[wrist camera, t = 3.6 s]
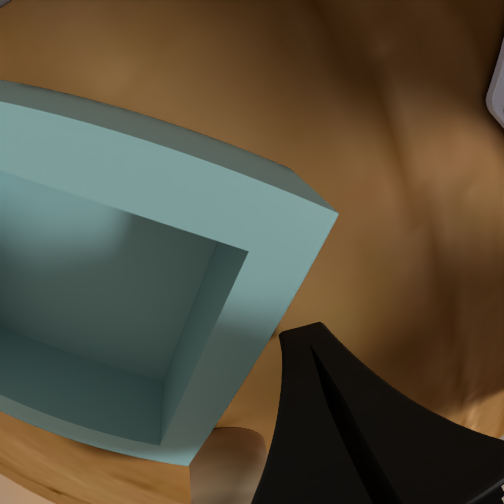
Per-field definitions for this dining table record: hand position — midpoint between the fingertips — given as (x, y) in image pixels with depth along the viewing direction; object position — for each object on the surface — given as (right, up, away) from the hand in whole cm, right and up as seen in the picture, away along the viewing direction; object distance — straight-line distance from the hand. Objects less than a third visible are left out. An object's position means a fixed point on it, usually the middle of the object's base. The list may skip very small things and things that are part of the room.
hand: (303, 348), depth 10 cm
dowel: (-3, -7, +5) cm, 9 cm away
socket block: (-7, +3, -1) cm, 7 cm away
